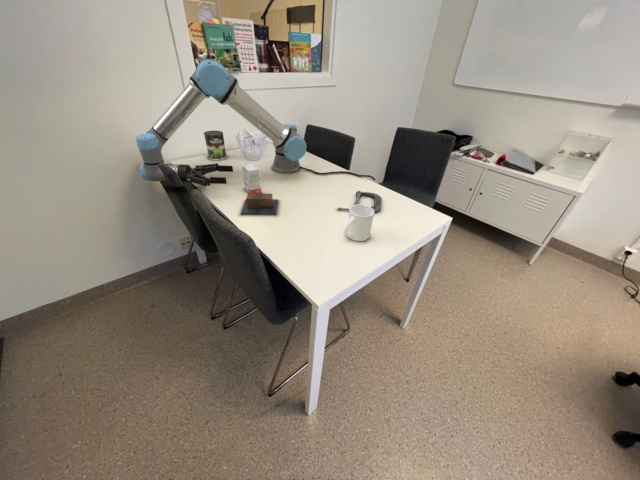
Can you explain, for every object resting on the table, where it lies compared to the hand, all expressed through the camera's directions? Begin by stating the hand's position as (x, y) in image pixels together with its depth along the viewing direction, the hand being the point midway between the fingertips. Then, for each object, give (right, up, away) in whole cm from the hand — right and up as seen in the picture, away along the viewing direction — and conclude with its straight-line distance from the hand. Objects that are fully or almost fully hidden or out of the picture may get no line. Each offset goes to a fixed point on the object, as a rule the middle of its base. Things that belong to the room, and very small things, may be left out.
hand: (229, 174), depth 117 cm
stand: (+15, -16, -7) cm, 23 cm away
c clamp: (+60, -13, +1) cm, 61 cm away
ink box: (+9, -7, +6) cm, 13 cm away
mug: (+54, -28, -20) cm, 64 cm away
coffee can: (-21, +20, +39) cm, 49 cm away
